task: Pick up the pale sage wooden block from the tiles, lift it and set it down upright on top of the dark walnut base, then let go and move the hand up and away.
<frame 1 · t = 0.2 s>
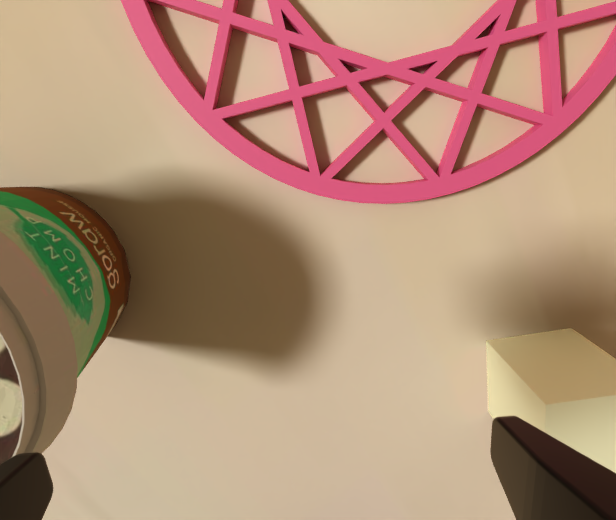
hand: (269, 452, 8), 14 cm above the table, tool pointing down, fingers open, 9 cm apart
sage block: (527, 370, 24), on the table
food container: (81, 240, 21), on the table
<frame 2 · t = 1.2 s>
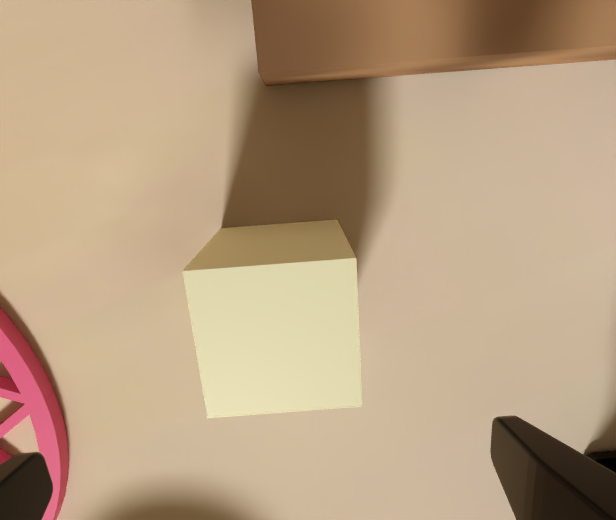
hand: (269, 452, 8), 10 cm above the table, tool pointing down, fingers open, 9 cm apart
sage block: (284, 278, 18), on the table
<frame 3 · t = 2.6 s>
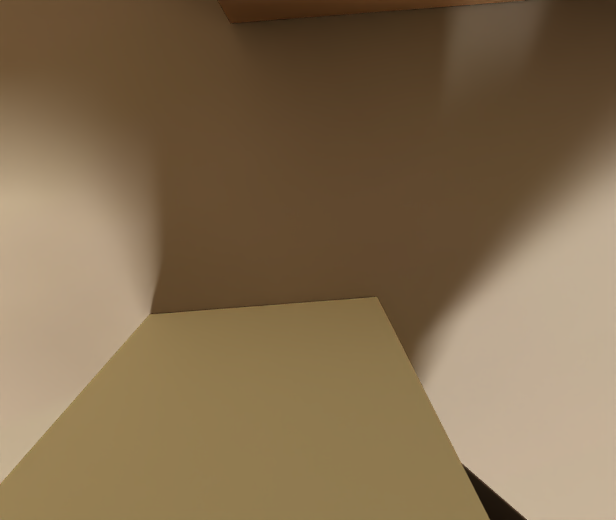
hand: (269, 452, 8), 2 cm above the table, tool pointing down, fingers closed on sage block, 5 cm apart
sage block: (274, 403, 9), on the table, touching gripper
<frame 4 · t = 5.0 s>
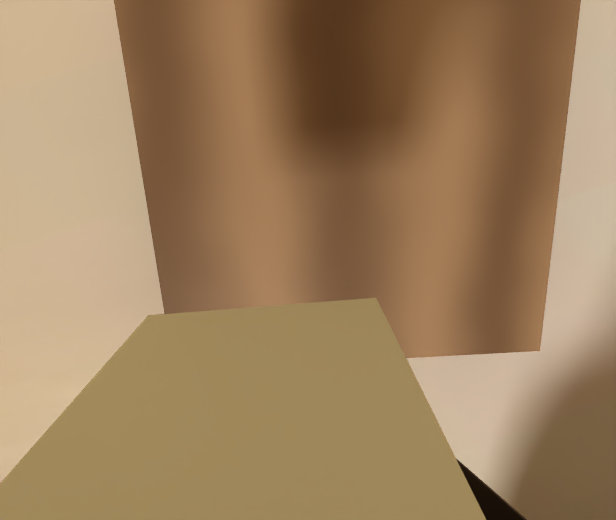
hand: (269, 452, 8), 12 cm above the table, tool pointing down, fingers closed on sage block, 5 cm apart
walnut base: (344, 169, 18), on the table
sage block: (273, 404, 9), point 10 cm above the table, touching gripper
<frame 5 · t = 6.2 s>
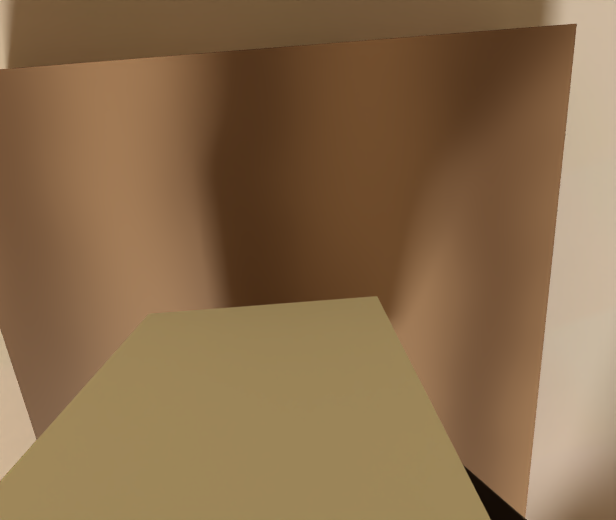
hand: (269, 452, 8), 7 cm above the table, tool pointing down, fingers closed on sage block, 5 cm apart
walnut base: (282, 305, 15), on the table
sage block: (274, 402, 9), point 6 cm above the table, touching gripper
when the fingers open (5 cm above the table, at t = 7.3 s): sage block stays where it is, resting on walnut base.
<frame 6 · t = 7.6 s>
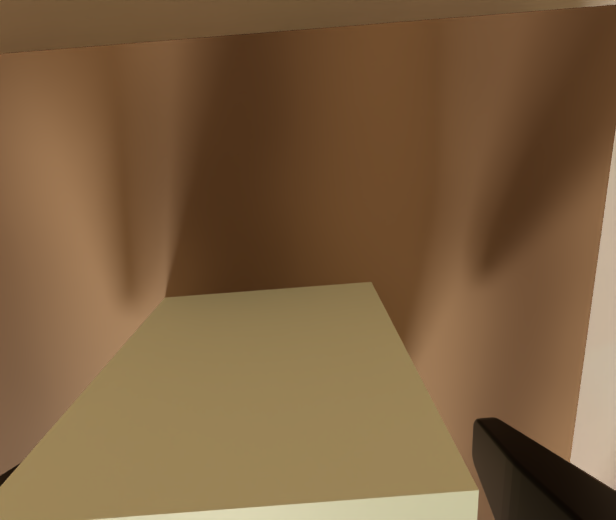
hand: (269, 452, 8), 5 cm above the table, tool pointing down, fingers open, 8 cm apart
walnut base: (281, 327, 13), on the table
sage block: (277, 379, 10), point 3 cm above the table, touching walnut base
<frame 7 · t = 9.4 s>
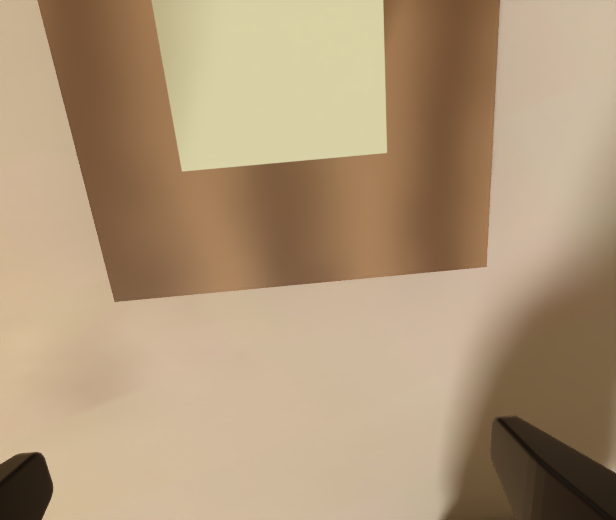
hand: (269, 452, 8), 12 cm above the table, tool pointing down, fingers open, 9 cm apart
walnut base: (282, 90, 17), on the table
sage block: (281, 82, 15), point 3 cm above the table, touching walnut base
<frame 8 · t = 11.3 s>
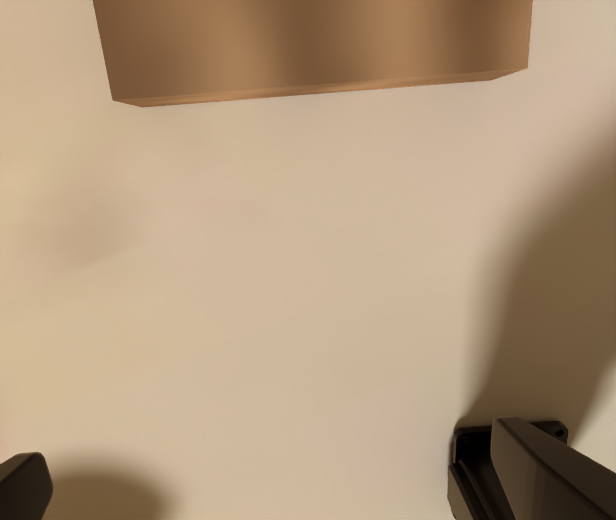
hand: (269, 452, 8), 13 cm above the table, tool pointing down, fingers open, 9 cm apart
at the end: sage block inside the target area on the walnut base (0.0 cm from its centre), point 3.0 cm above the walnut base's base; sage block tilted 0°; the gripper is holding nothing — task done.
